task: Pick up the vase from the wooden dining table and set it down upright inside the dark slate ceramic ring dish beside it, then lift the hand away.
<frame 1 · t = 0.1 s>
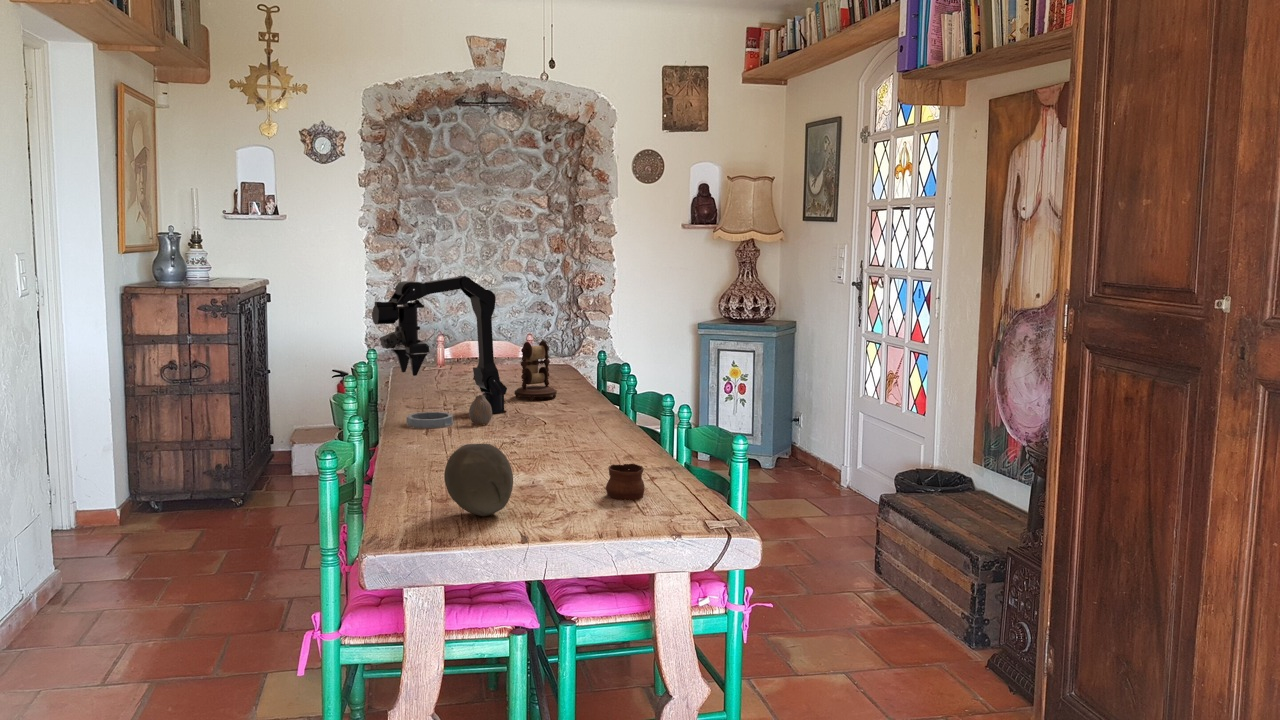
hand: (409, 373, 312), 15 cm above the table, fingers open, 9 cm apart
dark brown round lump: (479, 515, 212), on the table
vase: (480, 424, 310), on the table
ceramic pot: (625, 498, 228), on the table
ring dish: (430, 424, 310), on the table
scroll: (535, 398, 359), on the table
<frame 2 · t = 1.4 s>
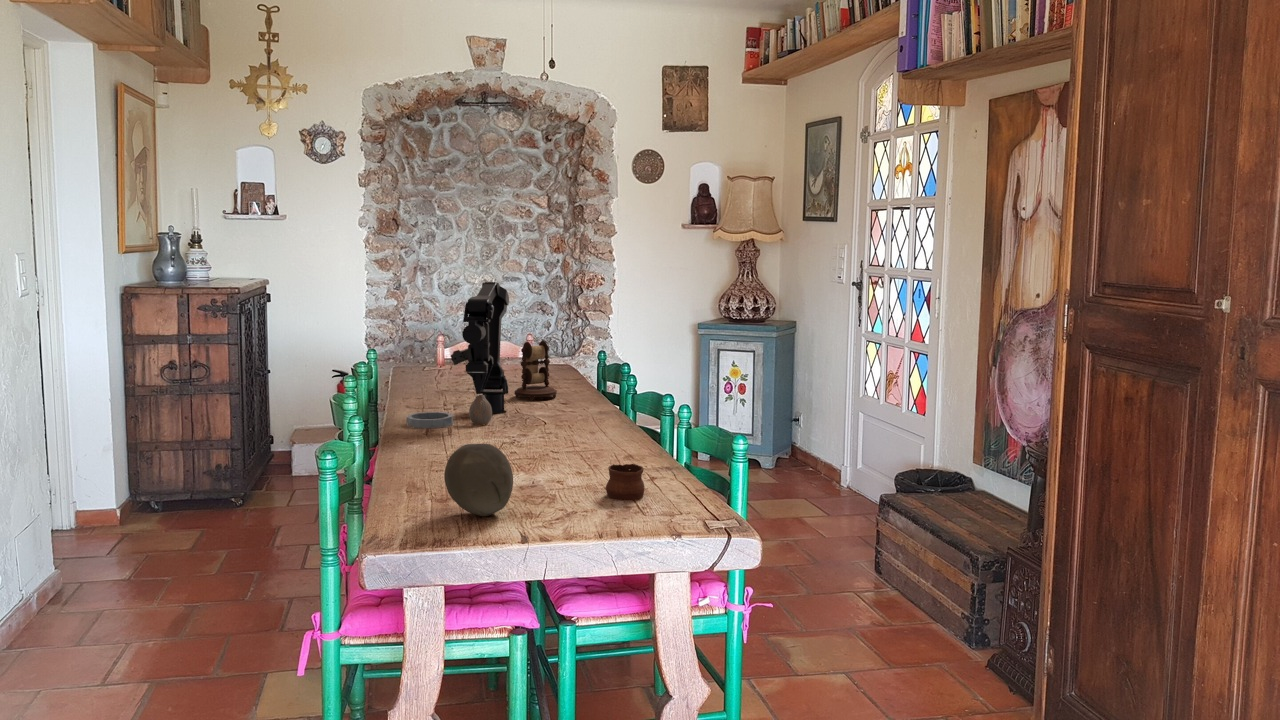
hand: (480, 391, 309), 10 cm above the table, fingers open, 9 cm apart
nothing on the table moved.
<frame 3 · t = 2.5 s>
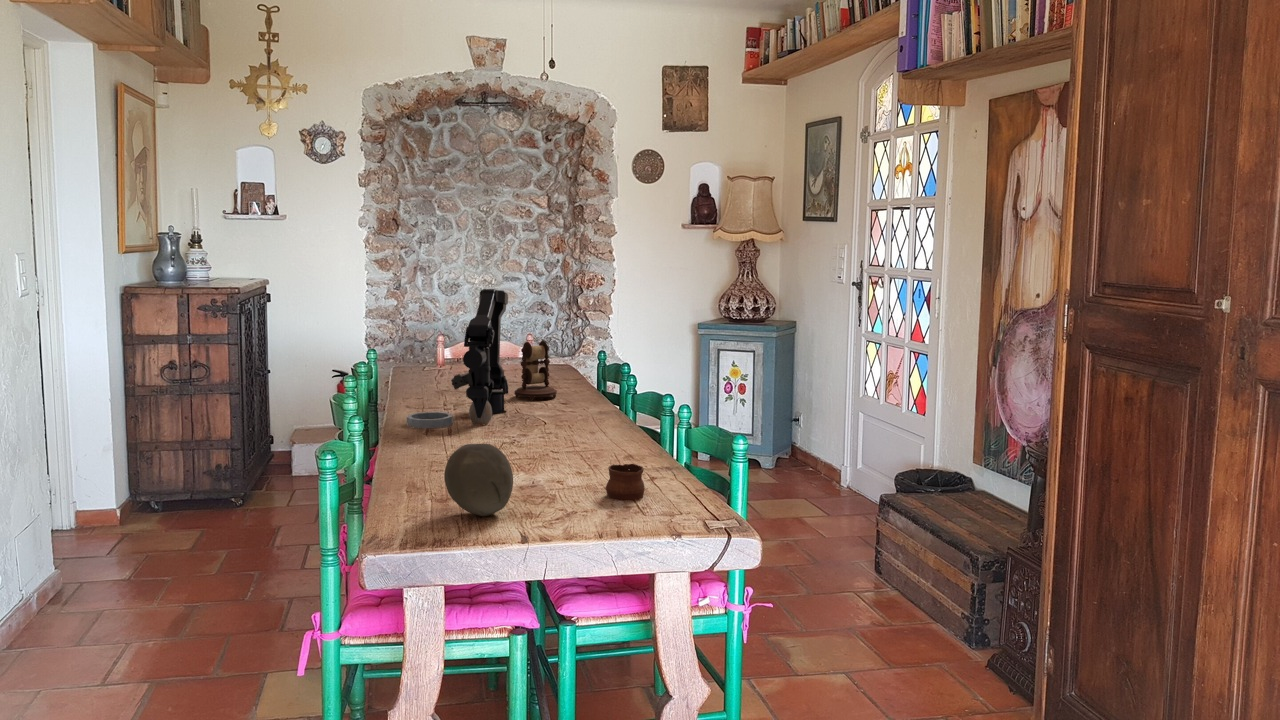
hand: (480, 415, 310), 3 cm above the table, fingers closed on vase, 7 cm apart
vase: (480, 424, 310), on the table, touching gripper
everything else where it was.
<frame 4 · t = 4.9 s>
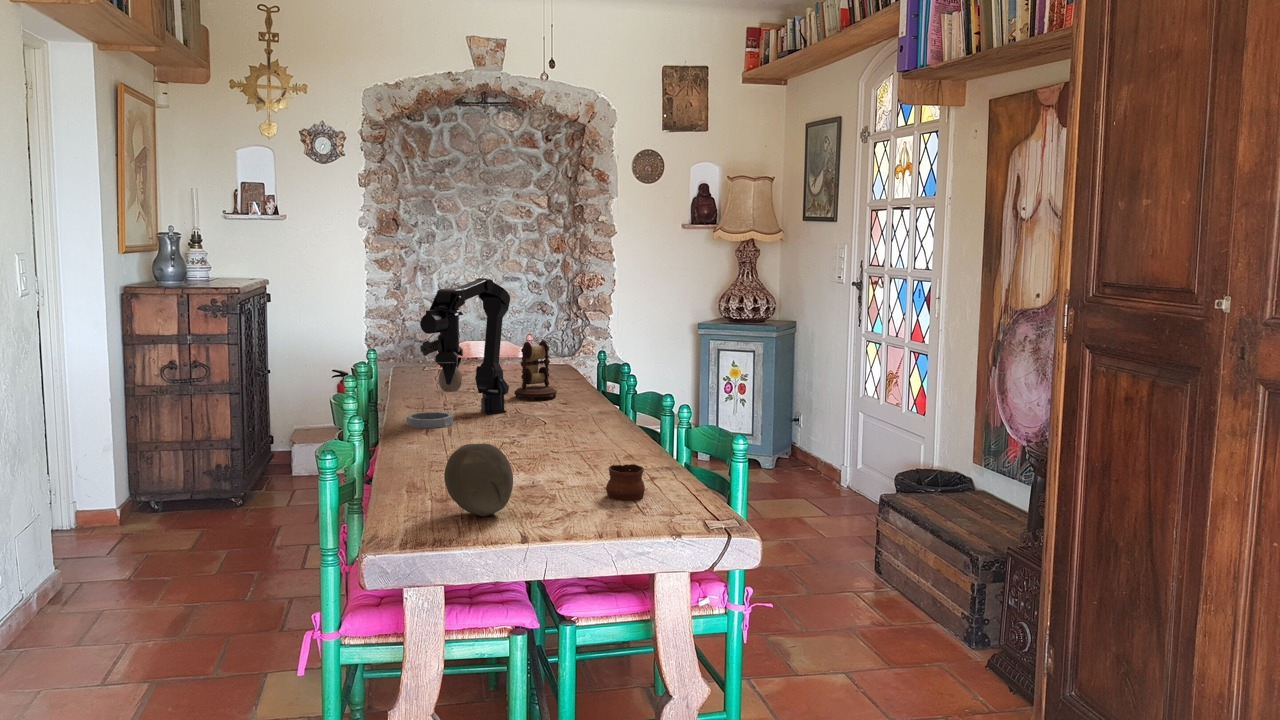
hand: (450, 382, 308), 13 cm above the table, fingers closed on vase, 7 cm apart
vase: (450, 391, 308), point 10 cm above the table, touching gripper
everything else where it was.
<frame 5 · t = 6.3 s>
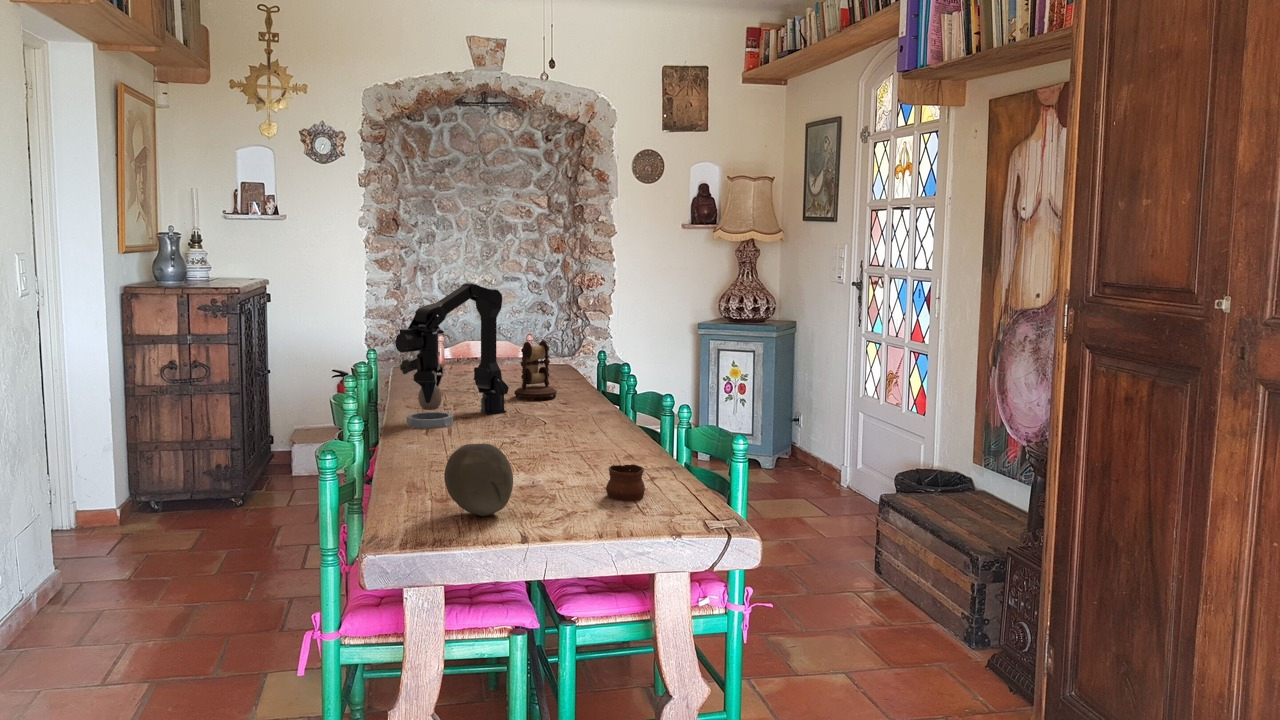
hand: (430, 400, 309), 7 cm above the table, fingers closed on vase, 7 cm apart
vase: (430, 409, 309), point 4 cm above the table, touching gripper
everything else where it was.
when the fingers open (4 cm above the table, at t = 7.3 s): vase drops 1 cm, resting on ring dish.
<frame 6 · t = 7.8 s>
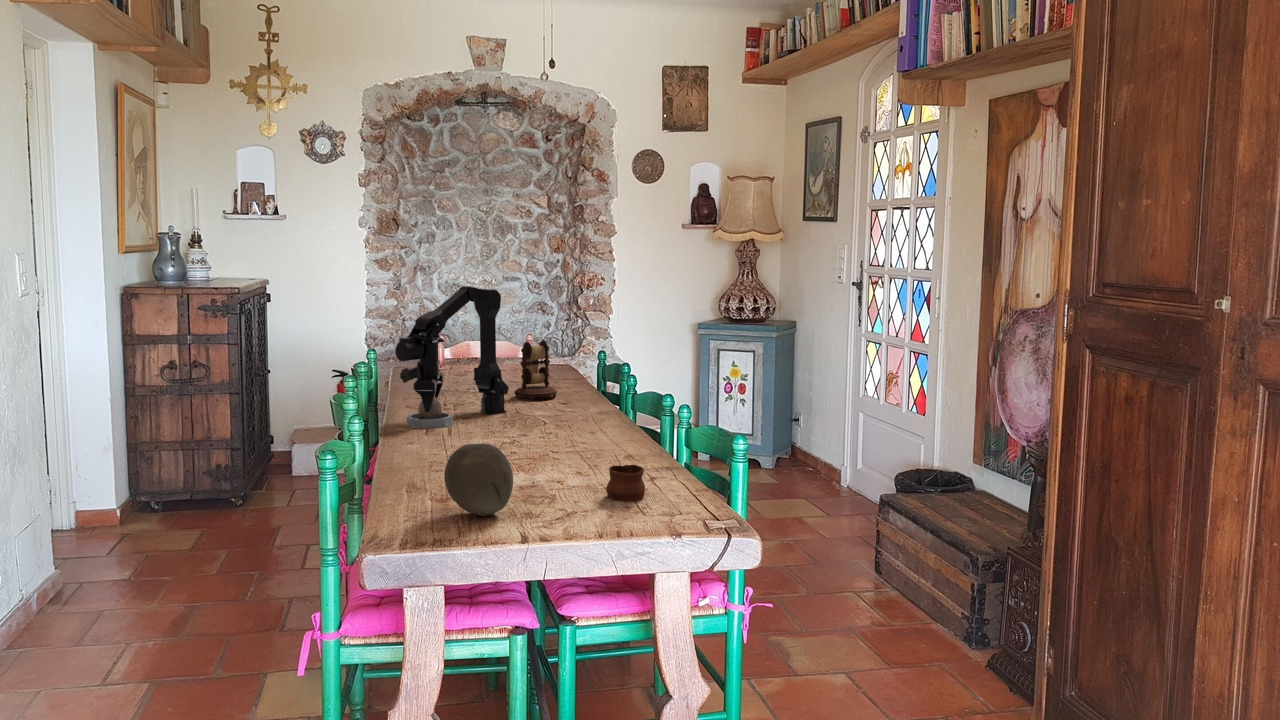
hand: (429, 409, 309), 4 cm above the table, fingers open, 9 cm apart
vase: (430, 423, 310), resting on ring dish
everything else where it was.
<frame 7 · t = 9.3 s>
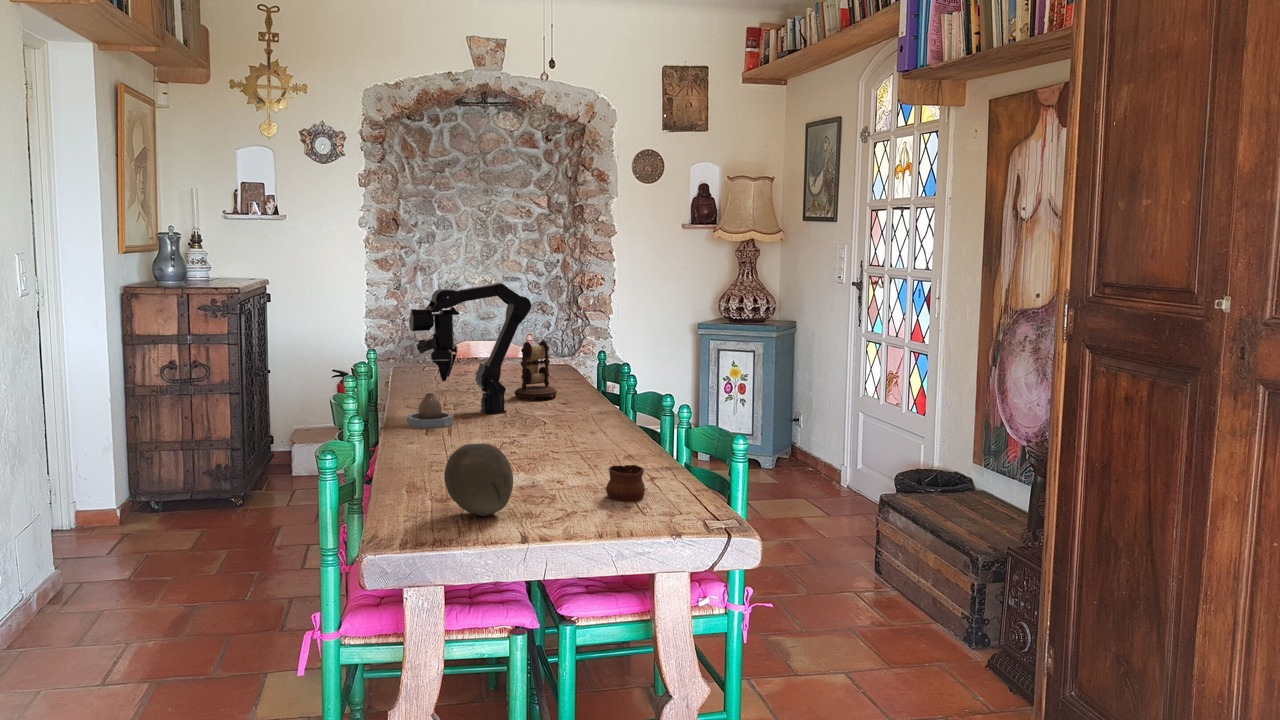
hand: (445, 378, 322), 12 cm above the table, fingers open, 9 cm apart
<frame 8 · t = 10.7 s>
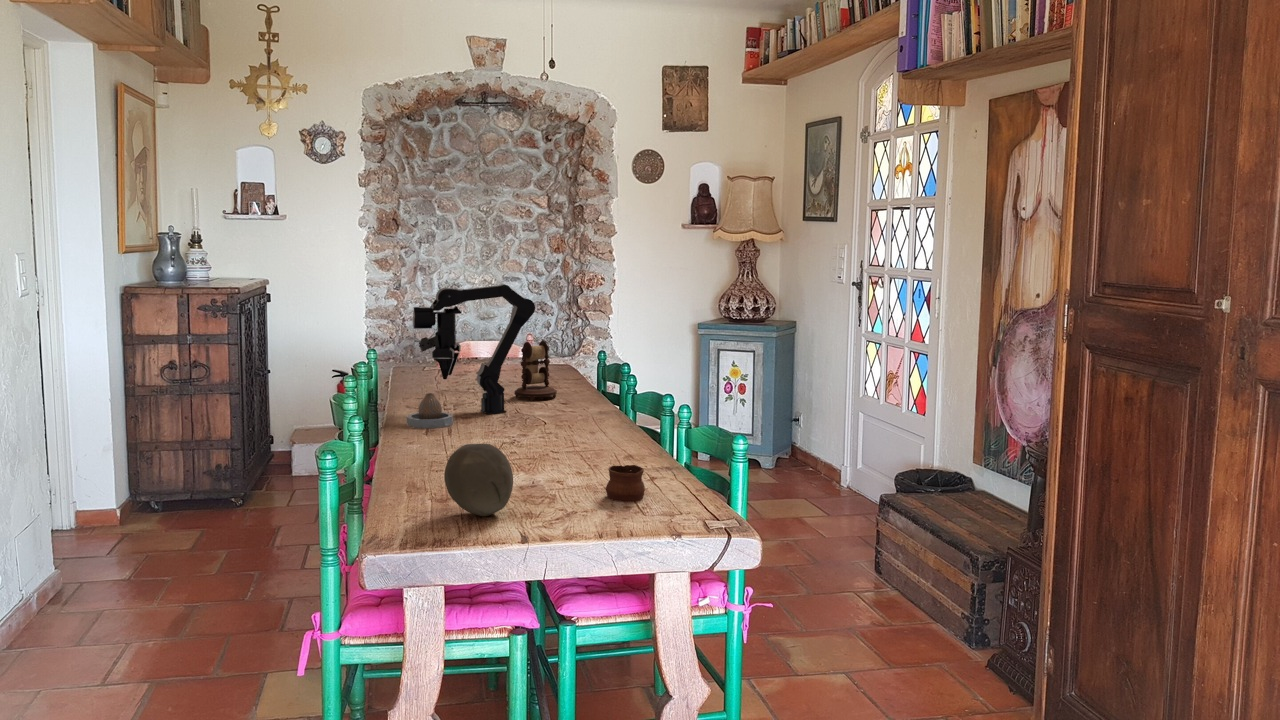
hand: (447, 377, 324), 12 cm above the table, fingers open, 9 cm apart
at the end: vase 0.1 cm off-centre on the ring dish, point 0.3 cm above the ring dish's base; vase tilted 0°; the gripper is holding nothing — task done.
